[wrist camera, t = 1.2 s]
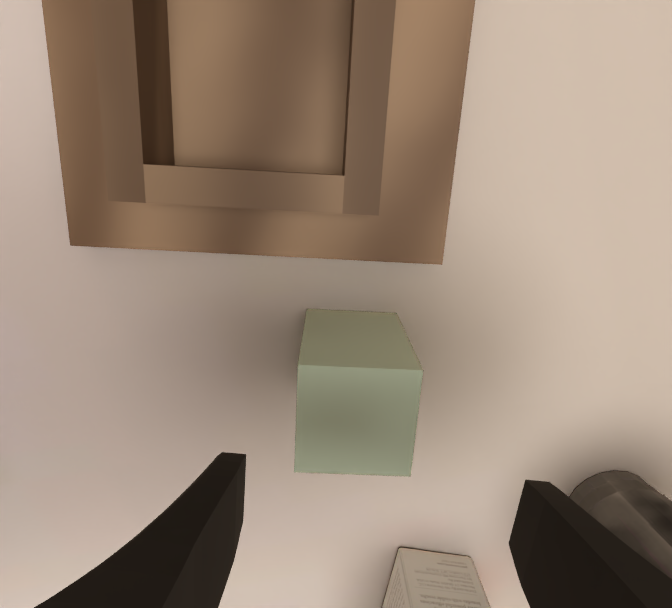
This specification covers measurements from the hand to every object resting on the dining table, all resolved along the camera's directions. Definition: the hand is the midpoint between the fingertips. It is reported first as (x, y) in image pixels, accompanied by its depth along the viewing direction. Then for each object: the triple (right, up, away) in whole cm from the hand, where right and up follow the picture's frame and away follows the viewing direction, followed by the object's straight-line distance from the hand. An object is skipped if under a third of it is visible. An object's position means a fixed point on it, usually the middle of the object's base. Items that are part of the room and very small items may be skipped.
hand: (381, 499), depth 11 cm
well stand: (-4, +14, +6) cm, 15 cm away
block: (-1, +3, +9) cm, 10 cm away
